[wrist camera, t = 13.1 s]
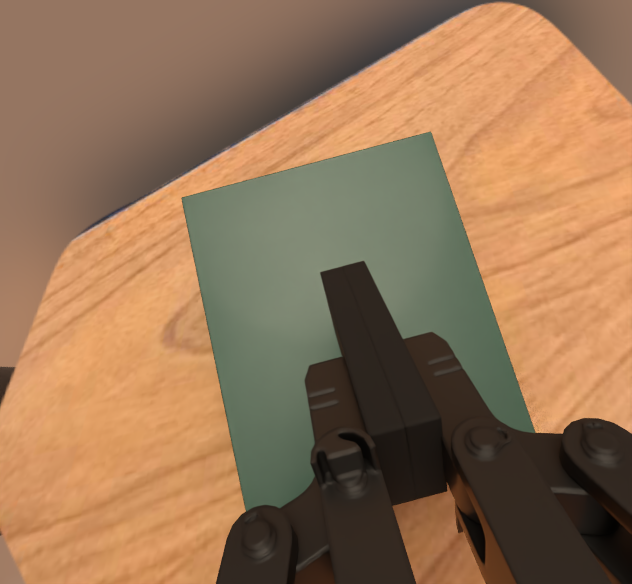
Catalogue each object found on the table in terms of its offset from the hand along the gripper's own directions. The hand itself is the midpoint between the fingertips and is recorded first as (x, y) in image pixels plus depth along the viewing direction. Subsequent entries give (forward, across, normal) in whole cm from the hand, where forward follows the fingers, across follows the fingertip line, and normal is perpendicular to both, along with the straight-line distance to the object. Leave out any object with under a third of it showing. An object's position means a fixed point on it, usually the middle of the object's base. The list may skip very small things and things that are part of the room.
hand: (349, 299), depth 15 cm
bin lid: (+5, 0, -5) cm, 7 cm away
